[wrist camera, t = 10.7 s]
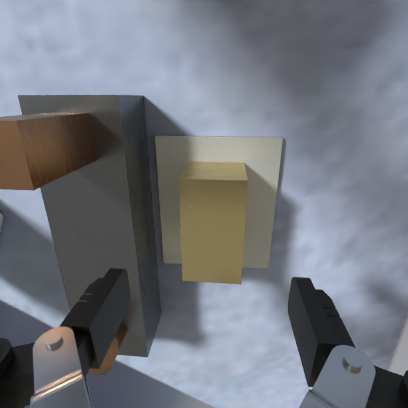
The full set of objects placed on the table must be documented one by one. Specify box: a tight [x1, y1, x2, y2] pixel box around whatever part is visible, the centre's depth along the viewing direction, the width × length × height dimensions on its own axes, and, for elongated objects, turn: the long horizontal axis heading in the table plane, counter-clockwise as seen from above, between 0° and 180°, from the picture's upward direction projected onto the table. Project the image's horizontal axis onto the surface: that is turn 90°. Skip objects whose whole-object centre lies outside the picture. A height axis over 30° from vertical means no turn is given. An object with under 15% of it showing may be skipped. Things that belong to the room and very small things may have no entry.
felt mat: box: [155, 136, 283, 269], centre depth 23 cm, size 12×10×1 cm
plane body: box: [0, 95, 161, 375], centre depth 20 cm, size 22×6×11 cm, turn 0°
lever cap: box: [179, 161, 248, 284], centre depth 21 cm, size 8×4×5 cm, turn 0°
